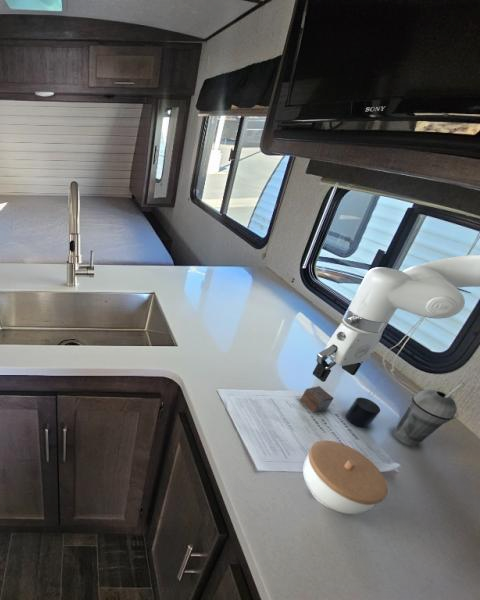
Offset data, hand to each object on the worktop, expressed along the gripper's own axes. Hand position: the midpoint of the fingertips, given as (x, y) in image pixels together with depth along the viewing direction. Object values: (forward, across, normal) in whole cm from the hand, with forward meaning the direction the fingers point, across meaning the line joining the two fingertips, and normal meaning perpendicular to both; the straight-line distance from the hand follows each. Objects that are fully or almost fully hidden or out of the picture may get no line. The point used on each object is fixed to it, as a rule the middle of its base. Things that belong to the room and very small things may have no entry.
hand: (333, 374), depth 83 cm
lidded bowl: (+12, -18, -20) cm, 29 cm away
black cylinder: (+12, +7, -7) cm, 15 cm away
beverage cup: (+12, +14, -14) cm, 23 cm away
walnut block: (+12, 0, 0) cm, 12 cm away
